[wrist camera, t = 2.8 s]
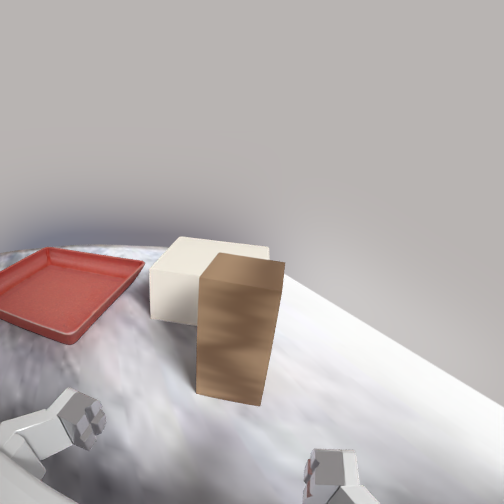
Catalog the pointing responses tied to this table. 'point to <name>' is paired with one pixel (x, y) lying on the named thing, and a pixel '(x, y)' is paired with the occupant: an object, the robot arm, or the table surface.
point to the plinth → (188, 276)
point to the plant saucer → (63, 290)
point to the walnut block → (236, 326)
